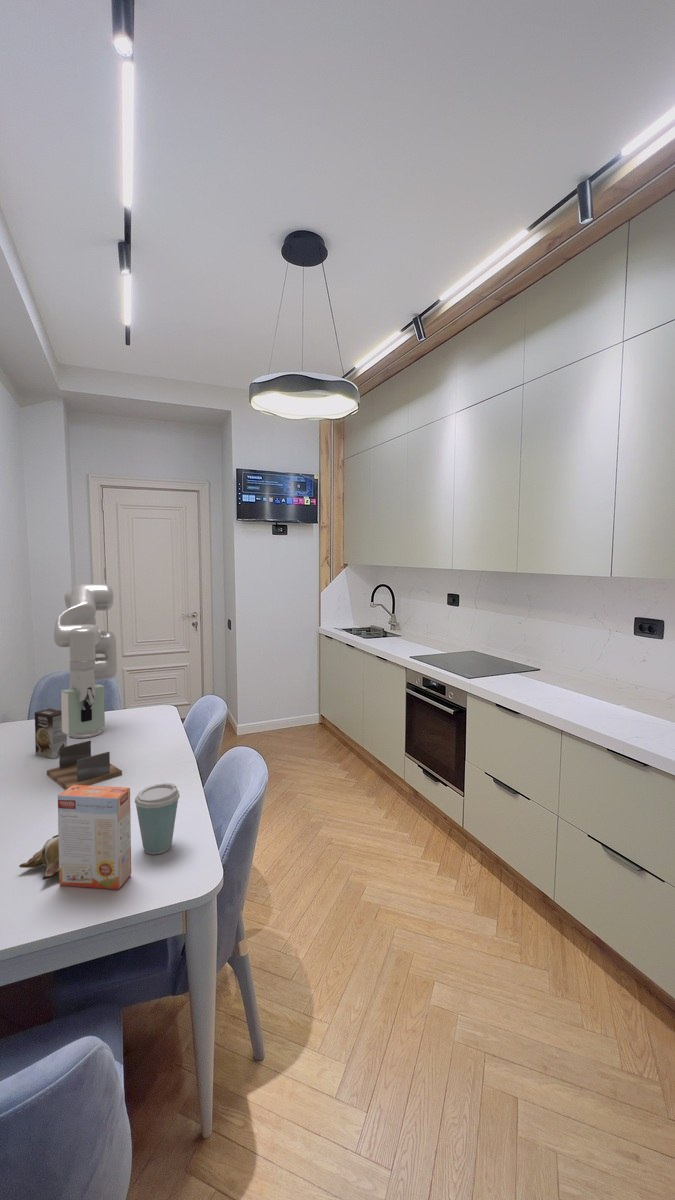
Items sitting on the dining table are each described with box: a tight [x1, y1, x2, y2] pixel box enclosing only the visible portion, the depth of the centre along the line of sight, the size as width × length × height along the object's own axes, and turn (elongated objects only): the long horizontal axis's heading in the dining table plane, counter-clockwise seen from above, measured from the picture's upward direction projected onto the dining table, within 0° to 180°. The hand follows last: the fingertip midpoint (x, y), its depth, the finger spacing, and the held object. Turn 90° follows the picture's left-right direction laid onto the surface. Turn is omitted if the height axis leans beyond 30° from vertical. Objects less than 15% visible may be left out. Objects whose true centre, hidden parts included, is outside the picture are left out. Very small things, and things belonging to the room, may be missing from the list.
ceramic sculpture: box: [18, 834, 59, 881], centre depth 117 cm, size 11×9×15 cm
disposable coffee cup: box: [134, 782, 181, 855], centre depth 125 cm, size 11×11×15 cm
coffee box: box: [34, 708, 68, 760], centre depth 183 cm, size 9×6×16 cm
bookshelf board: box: [46, 740, 123, 791], centre depth 166 cm, size 18×17×8 cm
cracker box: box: [57, 785, 132, 891], centre depth 111 cm, size 14×6×21 cm, turn 84°
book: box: [60, 683, 106, 736], centre depth 165 cm, size 4×12×14 cm, turn 139°
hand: (83, 718), depth 165 cm, fingers closed on book, 4 cm apart
